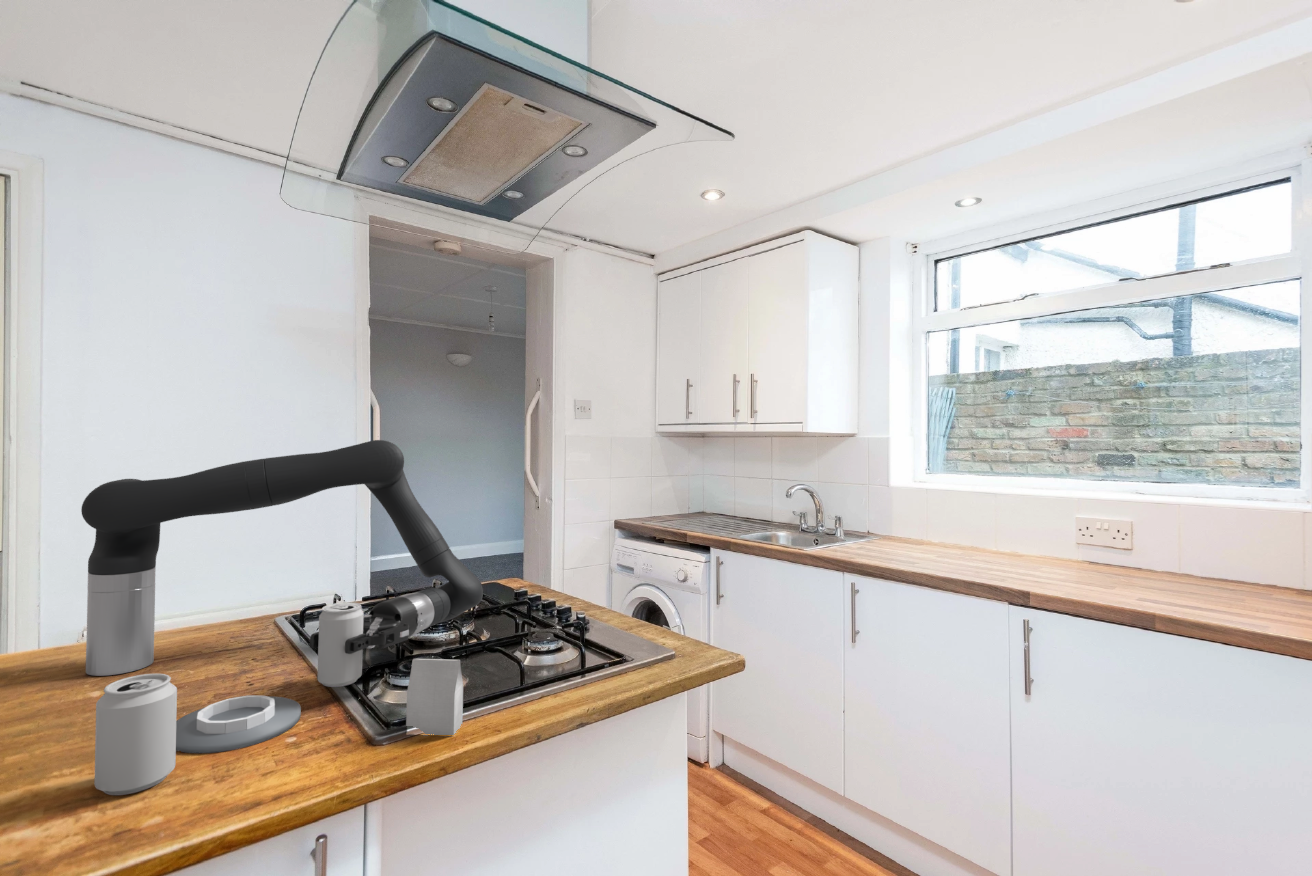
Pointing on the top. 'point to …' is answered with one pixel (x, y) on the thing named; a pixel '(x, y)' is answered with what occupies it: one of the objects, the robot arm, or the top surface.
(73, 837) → the top surface
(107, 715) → the can
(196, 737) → the dock
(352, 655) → the beverage can
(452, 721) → the grey printed carton
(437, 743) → the top surface
